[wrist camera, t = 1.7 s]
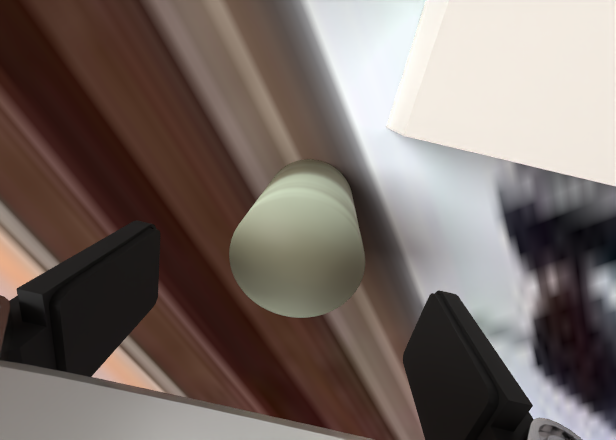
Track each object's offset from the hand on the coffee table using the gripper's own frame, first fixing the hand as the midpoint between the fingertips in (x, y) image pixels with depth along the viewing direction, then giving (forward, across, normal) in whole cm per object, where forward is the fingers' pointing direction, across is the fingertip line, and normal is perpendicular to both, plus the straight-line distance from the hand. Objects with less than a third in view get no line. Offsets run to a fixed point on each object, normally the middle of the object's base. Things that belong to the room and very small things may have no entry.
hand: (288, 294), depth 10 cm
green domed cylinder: (+8, 0, -1) cm, 8 cm away
